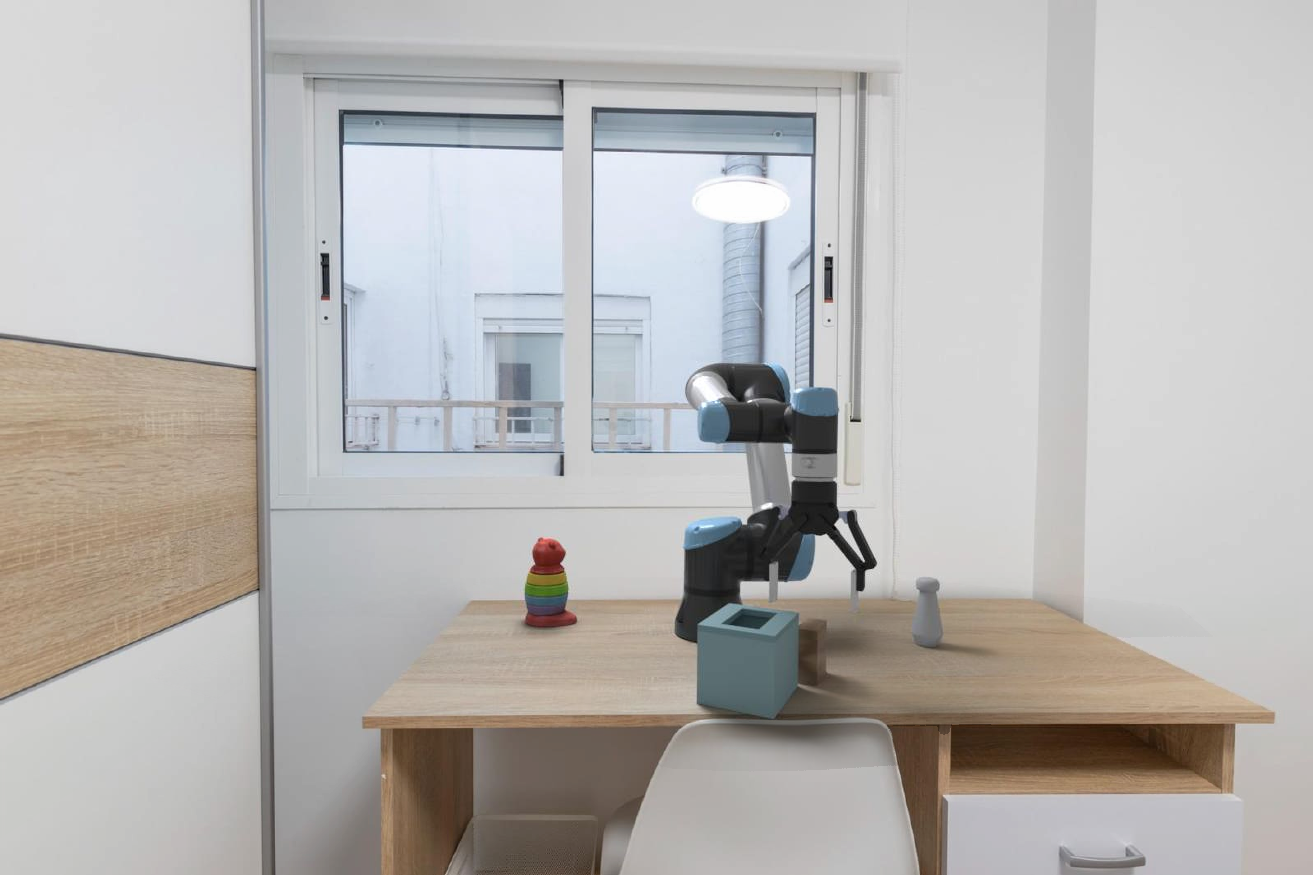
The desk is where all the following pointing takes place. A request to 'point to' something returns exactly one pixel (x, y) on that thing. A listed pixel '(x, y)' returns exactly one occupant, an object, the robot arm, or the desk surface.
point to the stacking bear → (547, 586)
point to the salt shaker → (927, 614)
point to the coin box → (748, 659)
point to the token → (812, 651)
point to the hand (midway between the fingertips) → (812, 605)
